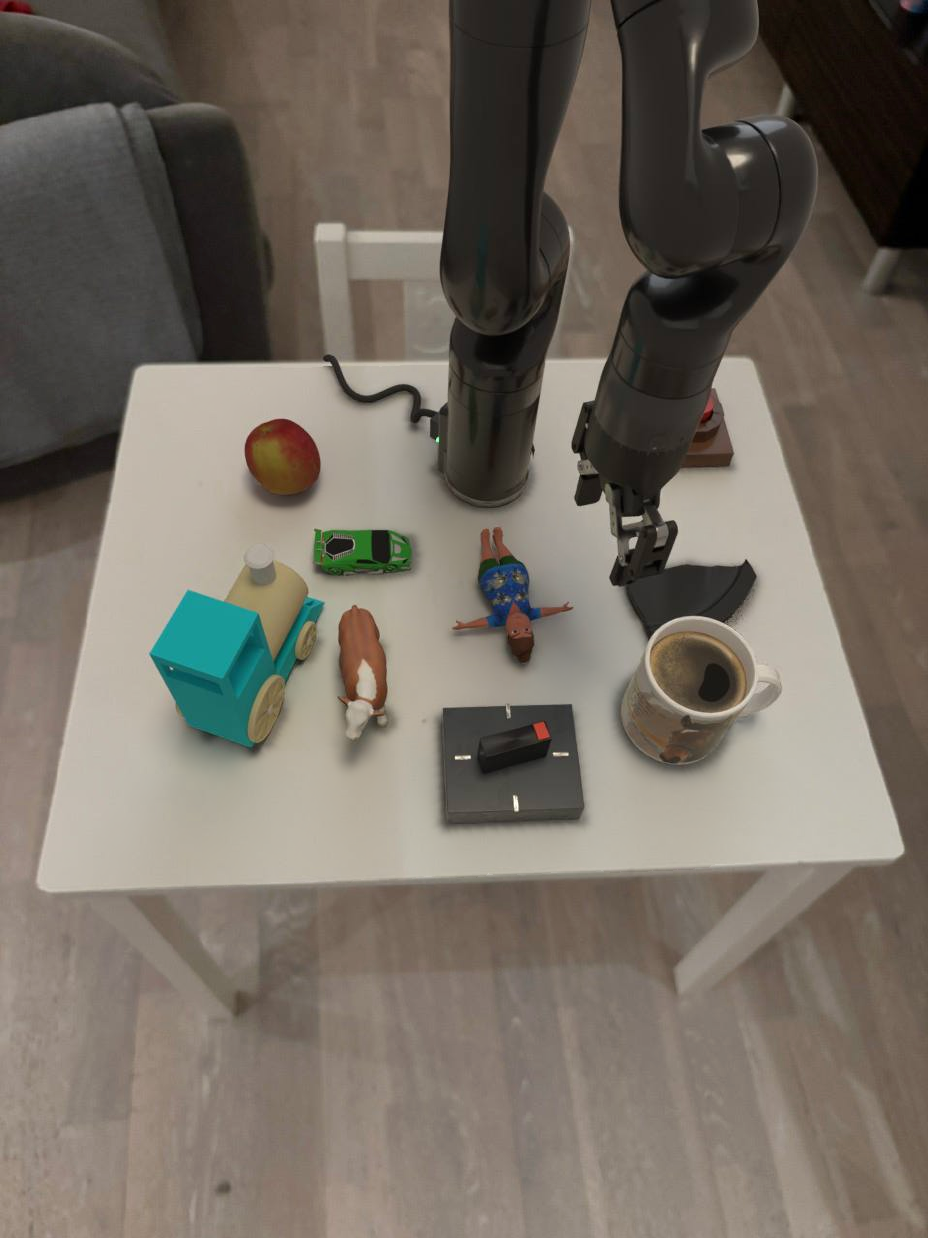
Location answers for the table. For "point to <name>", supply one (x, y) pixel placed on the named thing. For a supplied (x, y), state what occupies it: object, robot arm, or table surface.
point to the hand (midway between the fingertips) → (603, 540)
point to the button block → (711, 440)
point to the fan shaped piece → (691, 593)
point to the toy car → (361, 551)
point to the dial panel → (515, 789)
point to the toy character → (508, 597)
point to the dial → (514, 747)
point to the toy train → (238, 649)
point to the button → (707, 410)
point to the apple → (282, 457)
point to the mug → (693, 689)
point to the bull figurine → (362, 670)
